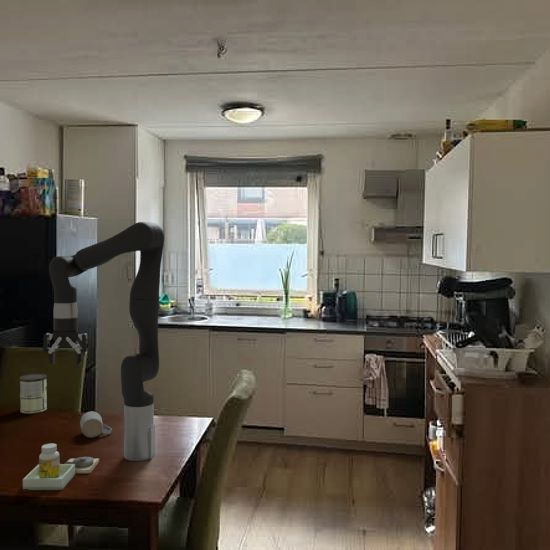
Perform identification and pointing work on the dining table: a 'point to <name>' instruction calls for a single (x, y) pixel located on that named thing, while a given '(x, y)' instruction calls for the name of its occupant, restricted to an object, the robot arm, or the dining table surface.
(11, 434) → the dining table surface
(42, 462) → the supplement bottle
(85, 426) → the ceramic mug
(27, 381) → the coffee can
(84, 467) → the beige board with disc
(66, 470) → the tray
